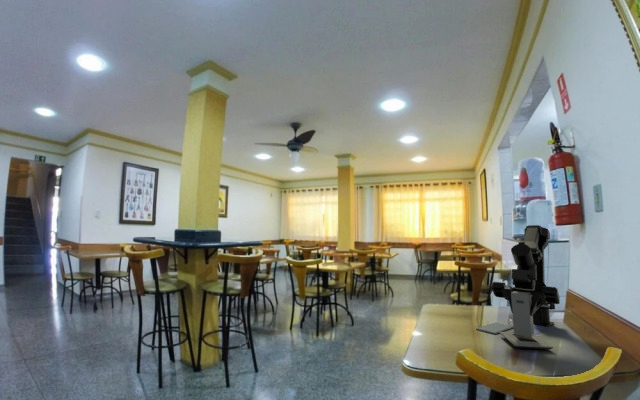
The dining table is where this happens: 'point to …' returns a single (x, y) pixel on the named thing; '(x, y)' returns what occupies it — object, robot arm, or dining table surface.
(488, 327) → the plate
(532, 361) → the dining table surface
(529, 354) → the dining table surface
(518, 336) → the electrical outlet
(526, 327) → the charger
